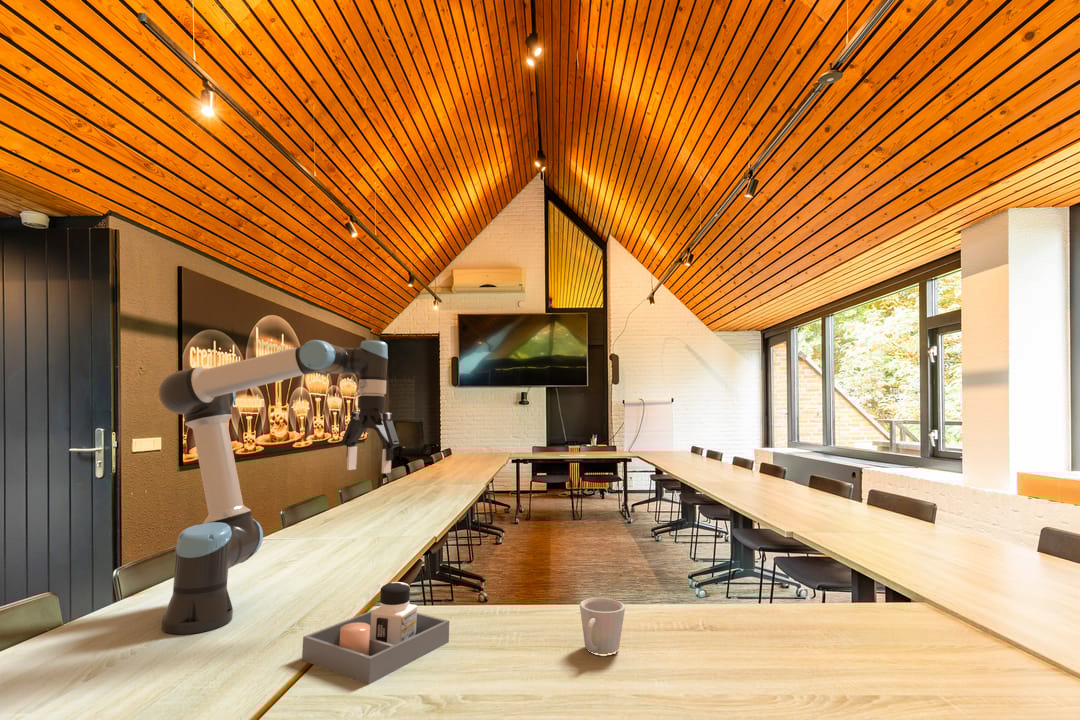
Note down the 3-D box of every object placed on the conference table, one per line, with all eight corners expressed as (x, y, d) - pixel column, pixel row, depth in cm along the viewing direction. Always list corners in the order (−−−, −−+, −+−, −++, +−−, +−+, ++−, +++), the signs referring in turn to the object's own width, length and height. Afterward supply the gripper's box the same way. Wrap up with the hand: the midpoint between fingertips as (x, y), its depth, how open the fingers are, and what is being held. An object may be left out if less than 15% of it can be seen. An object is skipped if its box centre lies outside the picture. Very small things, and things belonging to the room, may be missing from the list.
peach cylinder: (332, 664, 116) (334, 629, 117) (354, 653, 122) (356, 620, 122) (352, 671, 113) (354, 635, 114) (374, 660, 119) (376, 626, 119)
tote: (301, 663, 118) (303, 636, 119) (385, 627, 139) (386, 604, 139) (369, 688, 108) (370, 658, 109) (448, 645, 129) (449, 620, 129)
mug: (630, 645, 131) (630, 601, 132) (610, 671, 117) (611, 622, 118) (588, 637, 135) (588, 594, 136) (564, 661, 122) (565, 613, 123)
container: (400, 652, 123) (402, 591, 124) (368, 648, 125) (371, 587, 126) (416, 638, 130) (418, 581, 132) (386, 635, 132) (388, 578, 133)
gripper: (331, 394, 161) (327, 469, 159) (394, 394, 149) (391, 475, 147) (351, 395, 168) (348, 467, 166) (414, 395, 155) (411, 473, 153)
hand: (368, 471), depth 156 cm, fingers open, 13 cm apart
